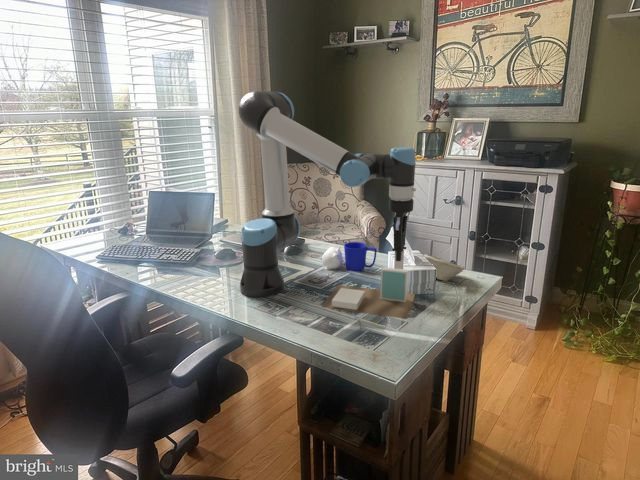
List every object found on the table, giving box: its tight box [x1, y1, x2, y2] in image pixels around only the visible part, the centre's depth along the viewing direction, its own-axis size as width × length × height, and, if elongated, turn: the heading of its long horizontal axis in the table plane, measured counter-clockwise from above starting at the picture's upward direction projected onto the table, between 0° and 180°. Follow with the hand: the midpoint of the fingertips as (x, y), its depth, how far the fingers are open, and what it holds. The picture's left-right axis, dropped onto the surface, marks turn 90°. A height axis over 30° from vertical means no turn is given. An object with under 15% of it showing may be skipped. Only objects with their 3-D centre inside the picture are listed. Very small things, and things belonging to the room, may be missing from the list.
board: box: [321, 284, 416, 319], centre depth 141 cm, size 26×18×1 cm
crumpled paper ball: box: [321, 246, 346, 271], centre depth 171 cm, size 9×11×12 cm
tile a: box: [332, 288, 365, 310], centre depth 140 cm, size 8×2×10 cm
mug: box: [343, 241, 378, 273], centre depth 167 cm, size 8×12×10 cm
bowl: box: [422, 253, 465, 282], centre depth 158 cm, size 15×14×10 cm
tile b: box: [380, 266, 409, 302], centre depth 140 cm, size 8×2×10 cm, turn 71°
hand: (398, 269), depth 146 cm, fingers closed
